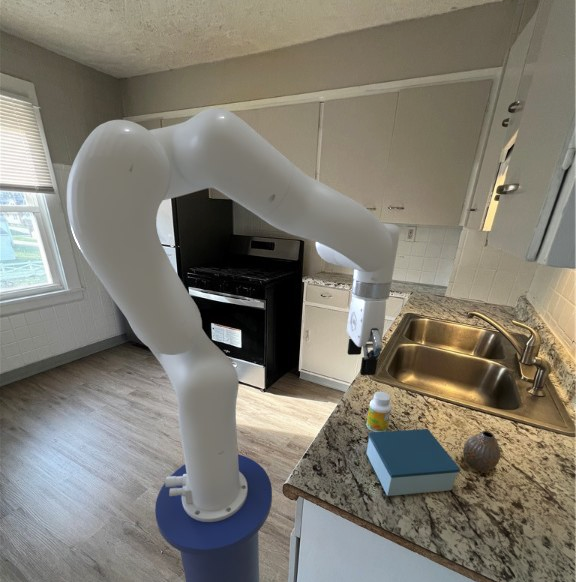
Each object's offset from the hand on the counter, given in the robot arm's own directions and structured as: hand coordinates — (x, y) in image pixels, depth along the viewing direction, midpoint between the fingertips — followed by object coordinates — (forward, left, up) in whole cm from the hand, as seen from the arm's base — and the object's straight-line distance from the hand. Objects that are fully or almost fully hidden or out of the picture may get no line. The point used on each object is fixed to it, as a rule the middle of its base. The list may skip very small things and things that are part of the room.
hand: (360, 363), depth 71 cm
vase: (+26, -13, -20) cm, 35 cm away
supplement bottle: (+8, +2, -20) cm, 22 cm away
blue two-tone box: (+9, -13, -20) cm, 25 cm away
